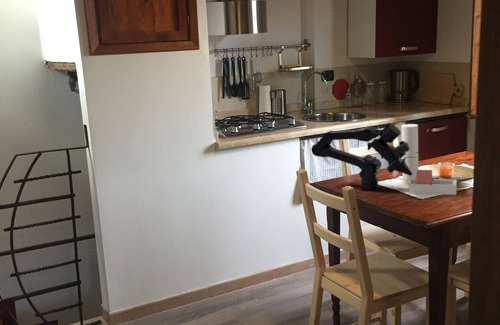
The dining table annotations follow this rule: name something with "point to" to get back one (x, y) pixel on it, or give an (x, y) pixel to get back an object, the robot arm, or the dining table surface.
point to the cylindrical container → (411, 149)
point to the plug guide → (434, 187)
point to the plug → (424, 177)
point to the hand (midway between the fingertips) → (411, 174)
